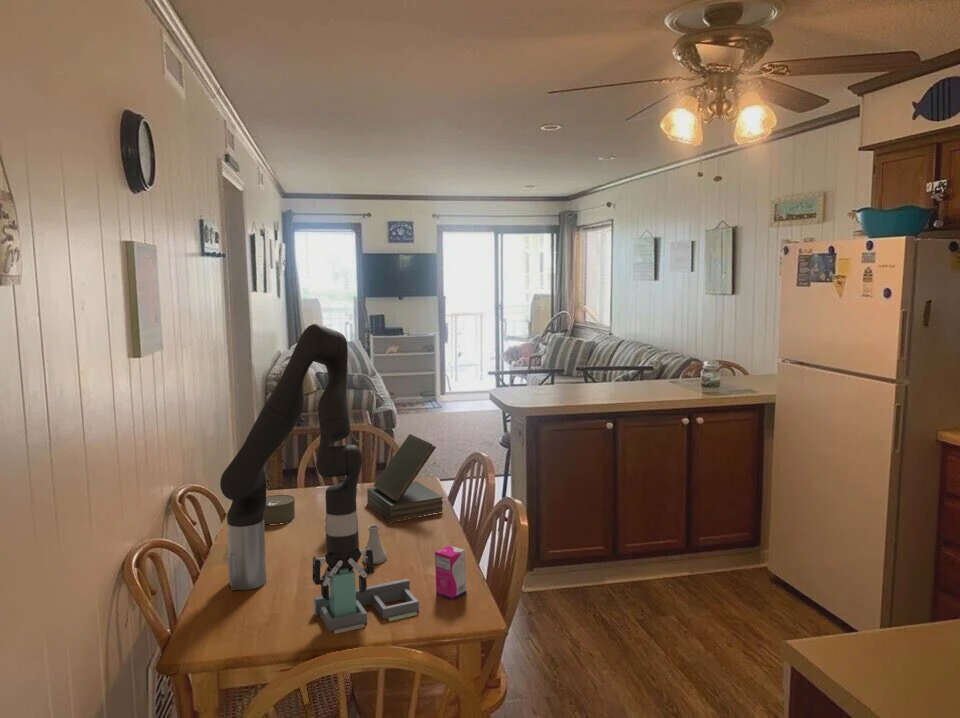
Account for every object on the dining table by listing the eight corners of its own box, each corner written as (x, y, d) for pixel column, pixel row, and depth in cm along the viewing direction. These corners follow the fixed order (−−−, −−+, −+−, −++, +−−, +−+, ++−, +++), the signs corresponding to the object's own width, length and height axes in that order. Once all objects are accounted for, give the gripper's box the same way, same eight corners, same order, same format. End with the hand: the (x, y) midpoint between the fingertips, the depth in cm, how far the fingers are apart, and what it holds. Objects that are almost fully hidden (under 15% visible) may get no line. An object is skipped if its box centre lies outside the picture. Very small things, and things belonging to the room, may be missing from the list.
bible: (367, 505, 249) (365, 437, 247) (416, 496, 259) (415, 431, 256) (390, 523, 229) (389, 450, 227) (443, 514, 239) (442, 444, 236)
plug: (335, 626, 159) (334, 572, 158) (330, 616, 164) (328, 564, 162) (356, 621, 162) (355, 568, 160) (350, 612, 166) (349, 561, 165)
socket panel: (326, 635, 155) (325, 619, 154) (314, 613, 166) (313, 597, 165) (425, 613, 165) (424, 597, 165) (407, 593, 176) (407, 578, 176)
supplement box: (450, 586, 180) (449, 544, 179) (467, 592, 176) (466, 549, 175) (434, 594, 176) (434, 551, 174) (452, 600, 172) (451, 556, 171)
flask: (382, 565, 194) (381, 531, 193) (358, 564, 195) (357, 530, 194) (390, 556, 201) (389, 523, 200) (367, 554, 202) (366, 521, 201)
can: (300, 514, 239) (300, 495, 238) (287, 526, 227) (286, 506, 226) (267, 513, 240) (267, 494, 239) (252, 525, 228) (252, 505, 227)
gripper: (315, 539, 154) (318, 608, 156) (376, 529, 160) (378, 595, 162) (308, 529, 161) (310, 595, 162) (366, 519, 167) (368, 583, 169)
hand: (344, 595), depth 162 cm, fingers open, 8 cm apart
